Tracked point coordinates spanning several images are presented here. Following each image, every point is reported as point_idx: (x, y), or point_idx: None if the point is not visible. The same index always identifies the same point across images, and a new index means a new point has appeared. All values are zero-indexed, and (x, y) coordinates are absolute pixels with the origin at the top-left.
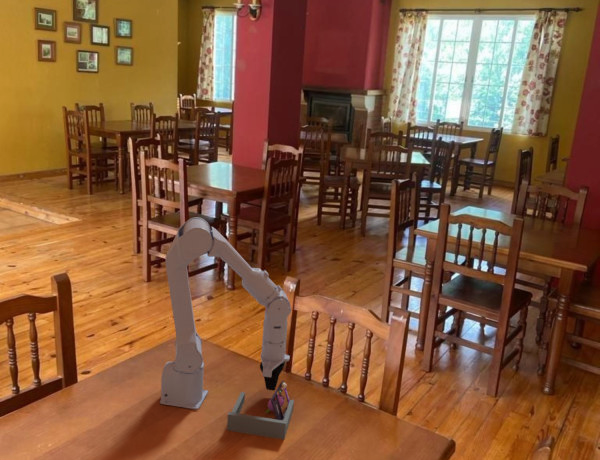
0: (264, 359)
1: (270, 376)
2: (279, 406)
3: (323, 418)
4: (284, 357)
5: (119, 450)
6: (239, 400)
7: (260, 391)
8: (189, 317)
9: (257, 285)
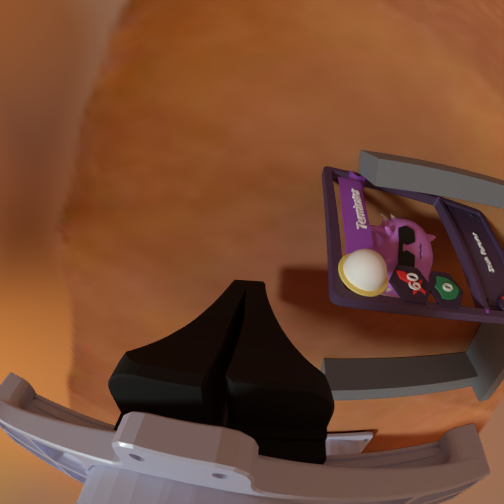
0: None
1: (475, 430)
2: (462, 245)
3: (398, 4)
4: (203, 484)
5: None
6: (385, 393)
7: None
8: None
9: None
